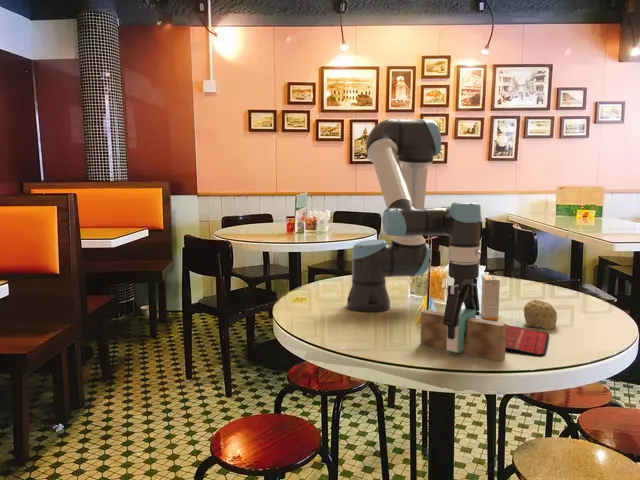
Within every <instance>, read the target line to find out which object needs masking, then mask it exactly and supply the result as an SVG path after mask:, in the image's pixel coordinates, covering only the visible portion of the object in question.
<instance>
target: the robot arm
mask: <svg viewBox="0 0 640 480" xmlns="http://www.w3.org/2000/svg"><path fill="white" fill-rule="evenodd" d="M441 149H442V135H441V131H440V127H439V126H438V124H437V122H435V120H433V119H432V120H431V119H425V118H424V119H423V118H409V119H408V118H401V119H400V118H399V119H398V118H390V119H385V120H382V121H380V122H379V123H376V125H375V126H374V127H373V128H372V129H371V131H370V133H369V134H368V136H367V139H366V143H365V150H366V151H365V152H366V154H367V157H368V160H369V161H370V162H371V163H373V165H374V170H375V174H376V176H377V180H378V183H379V187H380V190H381V192H382V193H381V194H382V196H383V197H382V198H383V199H384V204H385V206H386V209H384V211H383V213H382V221H381V224H382V230H383V232H384V234H385V235H386V236H390V237H392V238H391V243H387V242H386V240H385V239H368V240H367V239H366V240H363V241H359V242H356V243H355V244H354V245H353V246H352V253H351V259H352V261H351V265H352V266H351V269H352V270H351V287H350V290H349V293H348V295H347V296H348V297H347V299H346V307H347V308H348V309H350V310H352V311H356V312H365V313H376V312H377V313H378V312H383V311H388V310H389V309H390V308H391V300H390V296H389V292H388V289H387V286H386V278H397V277H399V278H400V277H401V278H402V277H412V278H413V277H419V276H423V275H425V273H426V272H427V271H428V268H429V267H428V266H430V264H429V259H430V260H431V258H430V255H431V248H429V247H430V246H429V244H428V242H427V243H426V239H425V238H424V236H449V245H448V260H449V261H450V262H448V276H449V277H450V278H453V285H448V286H447V296H446V302H445V309H444V312H443V313H444V319H443V325H447V347H446V349H445V350H446V351H447V350H450V351H455V352H457V351H458V326H457V322H458V318H459V315H460V311H461V310H462V307H463V305H464V308H467V309H473V310H476V316H475V318H477V316H478V317H480V314H481V308H480V301H479V292H478V278H479V275H480V274H479V272H480V271H479V270H480V264H479V263H478V262H479V261H480V255H481V254H482V251H481V250H480V243H481V242H480V241H481V227H482V226H481V224H482V215H481V214H482V213H481V212H482V209H481V204H480V203H479V202H472V201H457V202H456V201H455V202H453V203H451V205H450V206H441V207H425V202H426V191H427V181H428V180H427V179H428V178H427V177H428V170H429V169H428V168H429V166H430V165H431V164H433V162H434V157H436V156H438V155H439V154H440V152H441ZM450 320H451V321H450ZM450 351H449V352H450Z"/></svg>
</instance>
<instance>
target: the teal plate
mask: <svg viewBox="0 0 640 480" xmlns="http://www.w3.org/2000/svg"><path fill="white" fill-rule="evenodd" d="M475 316H476V317H477V315H476V310H473V309H467V308H465V307H464V308H463V309H462V308H461V311H460V315H459V318H458V322H457V326H458V351H457V352H455V351H450V350H446V351H447V352H450V353H454V354H460V352H461V351H462V350H464V334H467V320H468V319H470V318H475ZM450 321H451V320H450Z"/></svg>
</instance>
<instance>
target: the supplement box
mask: <svg viewBox="0 0 640 480" xmlns="http://www.w3.org/2000/svg"><path fill="white" fill-rule="evenodd" d="M481 279H482V280H481V300H480V301H481V302H480V303H481V304H480V314H481V316H482V319H484V320H489V321H498V320H499V310H500V309H499V307H500V284H501V280H500V278H499V277H498V275H487V274H486V275H482V276H481Z"/></svg>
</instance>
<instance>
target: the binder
mask: <svg viewBox="0 0 640 480" xmlns="http://www.w3.org/2000/svg"><path fill="white" fill-rule="evenodd" d="M549 338H550V334H549V333H548V332H546V331H541V330H535V329H530V328H529V329H528V328H525V327H519V326H513V325H510V324H506V347H505V353H511V354H518V355H524V356H525V355H527V356H533V357H544V356H545V355H546V352H547V349H548V344H549V343H548V342H549Z"/></svg>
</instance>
